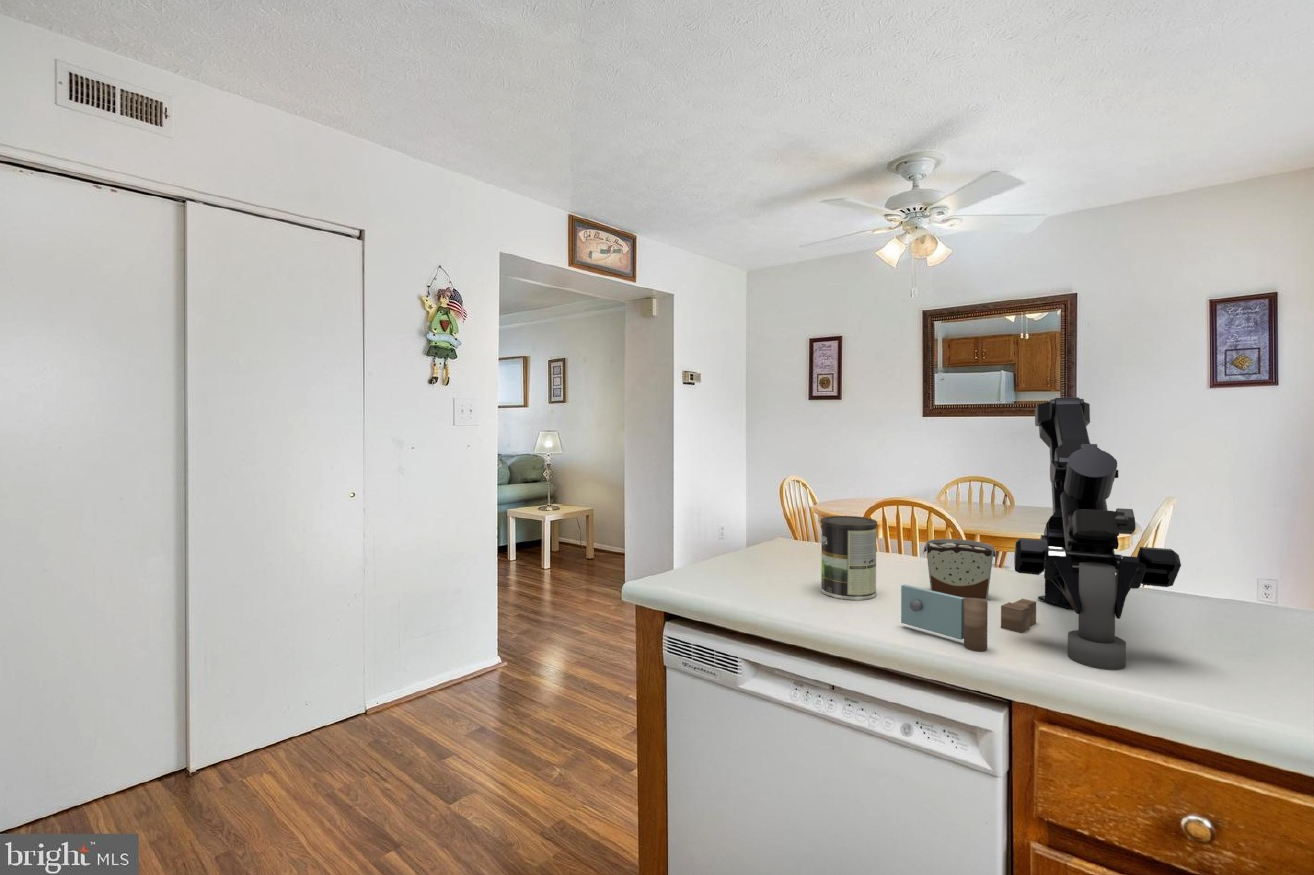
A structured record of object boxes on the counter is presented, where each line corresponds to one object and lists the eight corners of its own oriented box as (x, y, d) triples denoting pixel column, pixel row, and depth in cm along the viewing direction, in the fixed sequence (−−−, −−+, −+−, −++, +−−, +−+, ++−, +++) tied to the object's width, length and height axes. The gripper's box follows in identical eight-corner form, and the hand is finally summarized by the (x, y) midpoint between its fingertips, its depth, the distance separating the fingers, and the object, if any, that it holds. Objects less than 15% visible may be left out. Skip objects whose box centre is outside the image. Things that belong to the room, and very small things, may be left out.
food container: (989, 592, 115) (990, 540, 114) (996, 601, 109) (996, 546, 109) (919, 586, 119) (920, 536, 118) (922, 595, 113) (923, 542, 113)
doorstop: (1090, 648, 86) (1091, 558, 85) (1137, 666, 80) (1138, 569, 79) (1056, 654, 84) (1057, 562, 83) (1102, 672, 78) (1103, 572, 77)
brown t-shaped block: (981, 652, 84) (981, 605, 84) (959, 646, 87) (960, 600, 87) (1039, 623, 96) (1039, 581, 96) (1019, 619, 99) (1019, 578, 99)
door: (964, 638, 88) (964, 597, 88) (957, 641, 87) (958, 600, 87) (904, 621, 96) (904, 584, 96) (897, 624, 95) (897, 586, 94)
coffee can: (818, 597, 112) (818, 522, 111) (822, 583, 121) (822, 514, 121) (877, 602, 108) (877, 525, 108) (876, 588, 118) (877, 517, 118)
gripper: (1016, 484, 89) (1020, 574, 79) (1177, 490, 80) (1204, 592, 71) (1012, 528, 96) (1016, 616, 87) (1160, 538, 87) (1183, 637, 78)
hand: (1098, 614), depth 80 cm, fingers closed on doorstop, 4 cm apart
